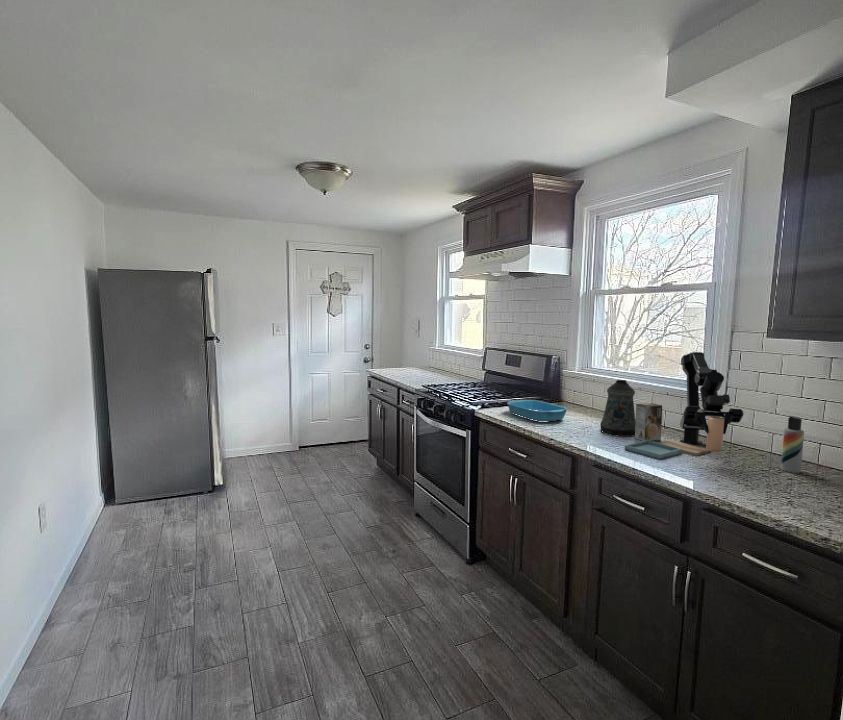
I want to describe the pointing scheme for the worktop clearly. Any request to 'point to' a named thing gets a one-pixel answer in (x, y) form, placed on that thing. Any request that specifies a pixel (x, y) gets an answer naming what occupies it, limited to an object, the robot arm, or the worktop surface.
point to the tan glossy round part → (715, 434)
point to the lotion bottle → (792, 446)
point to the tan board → (686, 447)
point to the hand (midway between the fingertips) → (716, 433)
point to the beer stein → (619, 410)
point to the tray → (653, 449)
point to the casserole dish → (544, 409)
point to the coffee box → (648, 422)
